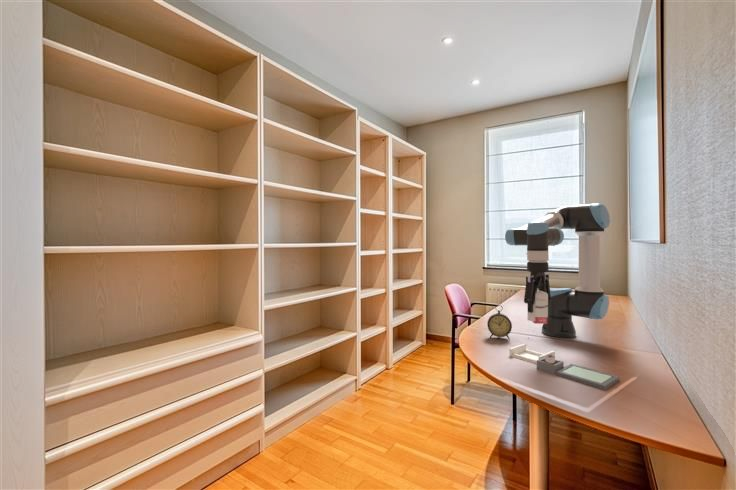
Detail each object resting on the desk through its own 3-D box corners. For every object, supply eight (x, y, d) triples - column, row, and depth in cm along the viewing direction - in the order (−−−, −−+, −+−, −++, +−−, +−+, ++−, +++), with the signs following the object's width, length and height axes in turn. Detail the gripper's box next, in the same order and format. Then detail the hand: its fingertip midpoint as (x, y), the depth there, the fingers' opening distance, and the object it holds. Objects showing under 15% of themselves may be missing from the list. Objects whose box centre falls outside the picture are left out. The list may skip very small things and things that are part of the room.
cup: (545, 367, 128) (545, 356, 128) (563, 372, 123) (563, 361, 123) (536, 371, 124) (536, 360, 124) (554, 377, 119) (554, 365, 119)
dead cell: (547, 367, 126) (547, 353, 126) (556, 369, 123) (556, 355, 123) (543, 369, 124) (543, 355, 124) (552, 371, 121) (552, 357, 121)
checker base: (571, 369, 126) (571, 363, 126) (619, 383, 114) (619, 376, 114) (555, 377, 119) (555, 371, 119) (604, 392, 107) (604, 385, 107)
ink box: (548, 324, 129) (548, 293, 129) (534, 323, 130) (534, 292, 130) (541, 318, 138) (541, 289, 138) (527, 318, 139) (527, 289, 139)
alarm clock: (487, 338, 166) (487, 305, 166) (487, 335, 171) (487, 303, 171) (511, 340, 163) (511, 306, 162) (510, 337, 168) (510, 304, 168)
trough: (524, 352, 145) (524, 343, 145) (554, 361, 134) (554, 351, 134) (509, 358, 138) (509, 348, 138) (540, 367, 128) (540, 357, 128)
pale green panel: (573, 368, 124) (573, 365, 124) (612, 379, 114) (612, 376, 114) (561, 374, 118) (561, 371, 118) (601, 386, 109) (601, 383, 109)
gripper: (541, 259, 143) (541, 312, 144) (513, 262, 130) (513, 321, 130) (560, 260, 137) (560, 316, 138) (533, 263, 124) (533, 325, 124)
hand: (537, 318), depth 134 cm, fingers closed on ink box, 9 cm apart
